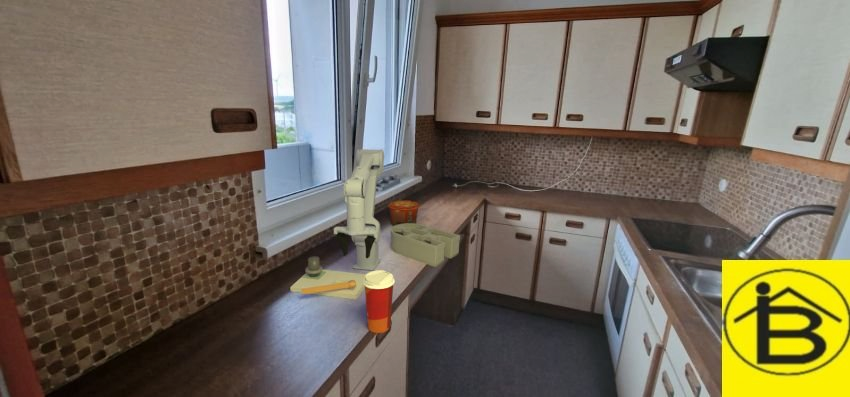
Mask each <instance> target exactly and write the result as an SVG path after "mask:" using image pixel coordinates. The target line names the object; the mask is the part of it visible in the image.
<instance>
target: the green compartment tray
mask: <svg viewBox="0 0 850 397" xmlns="http://www.w3.org/2000/svg"><path fill="white" fill-rule="evenodd" d="M460 240H461V235H459V234H457V233H453V232H449V231H445V230H442V229H439V228H435V227H431V226H427V225H423V224H420V223H416V224H413V223H406V224H398V225H395V226H393V225H392V226H391V228H390V247H391V251H392V252H394V253H395V254H398V255H401V256H403V257H405V258H409V259H412V260H415V261H418V262H420V263H423V264H425V263H426V264H425V265H428V266H431V267H433V268H437V267H438V266H440V265H442V264H444V261H445V258H448V259H453V258H455V257H457V256H458V255H459V250H460Z"/></svg>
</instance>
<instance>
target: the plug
mask: <svg viewBox="0 0 850 397" xmlns="http://www.w3.org/2000/svg"><path fill="white" fill-rule="evenodd" d="M307 262H308V263H307V266H306V267H305V274H306V273H308V274H309V276H310V277H317V276H319V275H320V272H322V270H324V269H323V266H322V265H320V257H319V256H318V255H317V256H316V255H315V256H309V257H307Z"/></svg>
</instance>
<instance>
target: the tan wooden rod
mask: <svg viewBox="0 0 850 397" xmlns="http://www.w3.org/2000/svg"><path fill="white" fill-rule="evenodd" d="M348 287H349V288H354V287H356V281H355V280H350V281H348V282H344V283H335V284H330V285H323V286H317V287H310V288H303V289H302V293H301V294H302V295H307V294H308V295H310V294H309V293H315V292H322V291H328V290H335V289H341V288H348Z"/></svg>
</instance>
